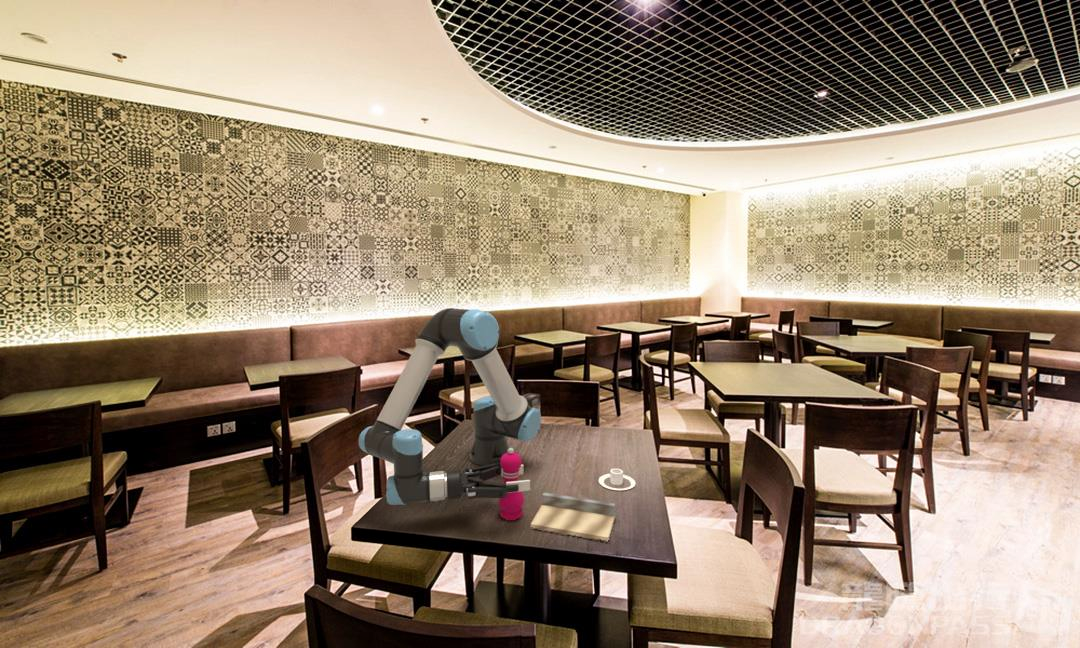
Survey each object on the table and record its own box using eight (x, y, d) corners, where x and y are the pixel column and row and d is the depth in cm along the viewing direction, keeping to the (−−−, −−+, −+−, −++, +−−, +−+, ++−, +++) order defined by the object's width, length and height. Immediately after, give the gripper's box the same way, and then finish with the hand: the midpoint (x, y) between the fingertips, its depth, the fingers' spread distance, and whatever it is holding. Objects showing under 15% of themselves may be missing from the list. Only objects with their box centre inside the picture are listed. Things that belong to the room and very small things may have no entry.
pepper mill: (527, 510, 130) (527, 444, 128) (518, 524, 123) (517, 454, 121) (504, 506, 133) (504, 441, 130) (494, 519, 126) (493, 451, 124)
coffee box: (529, 436, 189) (529, 399, 187) (516, 433, 193) (516, 397, 191) (540, 430, 197) (540, 394, 195) (528, 427, 200) (528, 392, 198)
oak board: (530, 529, 121) (530, 513, 121) (543, 507, 132) (543, 492, 132) (608, 543, 115) (608, 526, 114) (614, 518, 126) (615, 503, 126)
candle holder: (643, 486, 146) (643, 473, 145) (615, 496, 140) (615, 482, 139) (618, 472, 156) (618, 460, 155) (591, 481, 150) (591, 468, 149)
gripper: (446, 479, 134) (519, 472, 139) (447, 519, 113) (534, 509, 117) (445, 455, 133) (519, 449, 138) (446, 491, 112) (534, 481, 117)
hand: (526, 476), depth 128 cm, fingers open, 9 cm apart
